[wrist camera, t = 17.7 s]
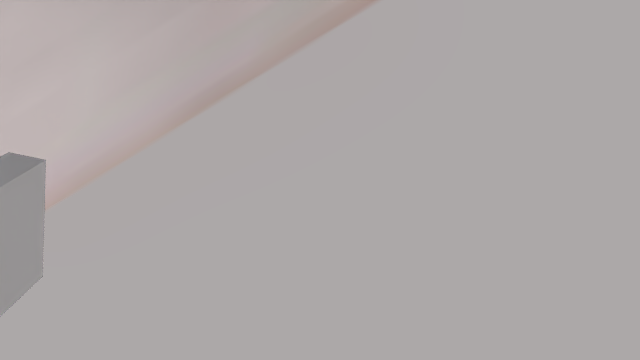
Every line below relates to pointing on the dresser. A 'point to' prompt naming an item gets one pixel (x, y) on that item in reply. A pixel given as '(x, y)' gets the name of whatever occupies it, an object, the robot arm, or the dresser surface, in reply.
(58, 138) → the dresser surface
